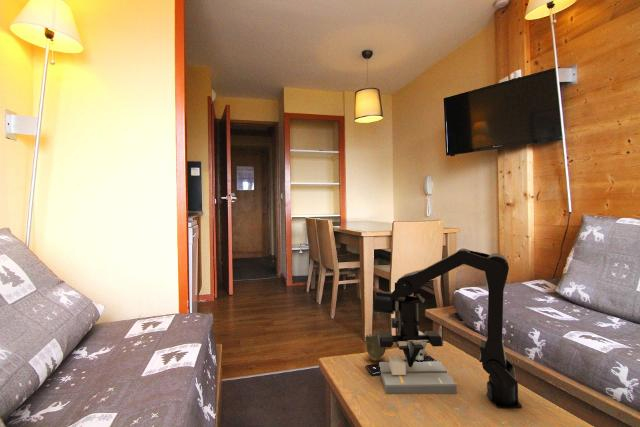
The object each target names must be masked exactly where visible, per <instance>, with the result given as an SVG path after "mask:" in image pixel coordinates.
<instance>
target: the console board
mask: <svg viewBox="0 0 640 427" xmlns="http://www.w3.org/2000/svg"><path fill="white" fill-rule="evenodd" d="M405 364H406V375H392V373H391V370H390V367H389V361H379V362H378V368H379V367H380V371H381V374H380V378H381V381H382V384H383V388H384V392H385V394H386V395H395V394H397V395H398V394H399V395H401V394H402V395H403V394H404V395H405V394H407V395H409V394H416V395H417V394H457V392H458V391H457V389H458V388H457V386H458V384H457V383H456V381H455V380H454V379H453V377H452V376H451V375H450V372H448V370H447V369H446V367H445V366H444V364H443V363H442V362H441V360H440V361H437V360H436V361H431V360H430V361H423V362H417V361H414V363H413V366H412V367H409V366H408V363H407V361H405ZM380 371H379V372H380Z"/></svg>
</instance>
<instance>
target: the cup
mask: <svg viewBox="0 0 640 427" xmlns="http://www.w3.org/2000/svg"><path fill="white" fill-rule="evenodd" d="M364 339H365V347H366V352H367V354H368V355H369V356H370V359H371V361H372V362H376V363H379V362H382V358H383V356H385V353H386V349H387V347H380V345H379V342H378V333H375V334H374V333H372V334H369V335H368V334H367V335H366V336H364Z"/></svg>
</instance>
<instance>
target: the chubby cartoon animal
mask: <svg viewBox="0 0 640 427" xmlns="http://www.w3.org/2000/svg"><path fill="white" fill-rule="evenodd" d="M419 335H424V332H422V331H420V330H419ZM407 345H408V347H409V351H410V342H407ZM427 345H428V342H423V343H422V346H423V347H424V349H421V350H420V351H419V353H418V355H417V356H416V359H415V361H416V360H419V361H420V360H424V359H425V358H424V357H425V355H426V352H427V351H426V348H427ZM424 361H425V360H424Z"/></svg>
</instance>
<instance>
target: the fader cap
mask: <svg viewBox="0 0 640 427" xmlns="http://www.w3.org/2000/svg"><path fill="white" fill-rule="evenodd" d="M388 358H389V361H388V362H389V367H390V370H391V373H392V375H406V364H405V362H406V361H405V360H404V359H405V358H404V357H403V356H402V355H389V356H388Z"/></svg>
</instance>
